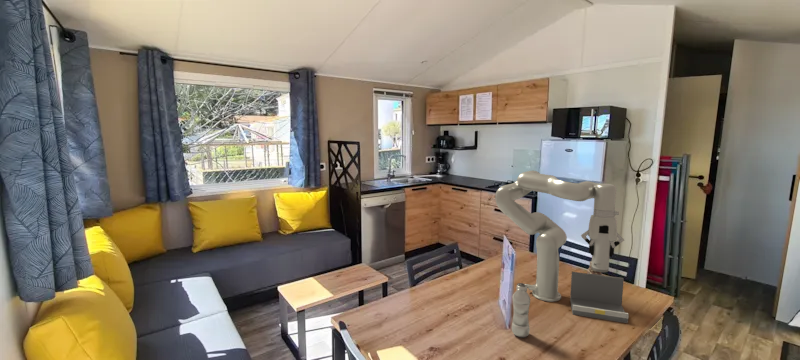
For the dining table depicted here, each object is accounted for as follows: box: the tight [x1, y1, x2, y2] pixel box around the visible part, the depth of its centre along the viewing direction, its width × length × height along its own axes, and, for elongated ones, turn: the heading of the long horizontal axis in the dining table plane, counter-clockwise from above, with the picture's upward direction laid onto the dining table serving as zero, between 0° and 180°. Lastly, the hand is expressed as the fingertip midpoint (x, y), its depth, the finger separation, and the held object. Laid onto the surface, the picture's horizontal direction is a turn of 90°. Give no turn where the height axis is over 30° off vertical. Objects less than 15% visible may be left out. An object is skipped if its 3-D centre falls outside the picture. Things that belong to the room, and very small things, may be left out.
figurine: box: [586, 260, 602, 275], centre depth 178 cm, size 7×7×12 cm
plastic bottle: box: [511, 282, 531, 338], centre depth 131 cm, size 6×7×20 cm
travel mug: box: [591, 225, 611, 273], centre depth 145 cm, size 6×7×20 cm
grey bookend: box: [569, 271, 629, 324], centre depth 148 cm, size 20×13×14 cm, turn 68°
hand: (600, 254), depth 146 cm, fingers closed on travel mug, 6 cm apart
